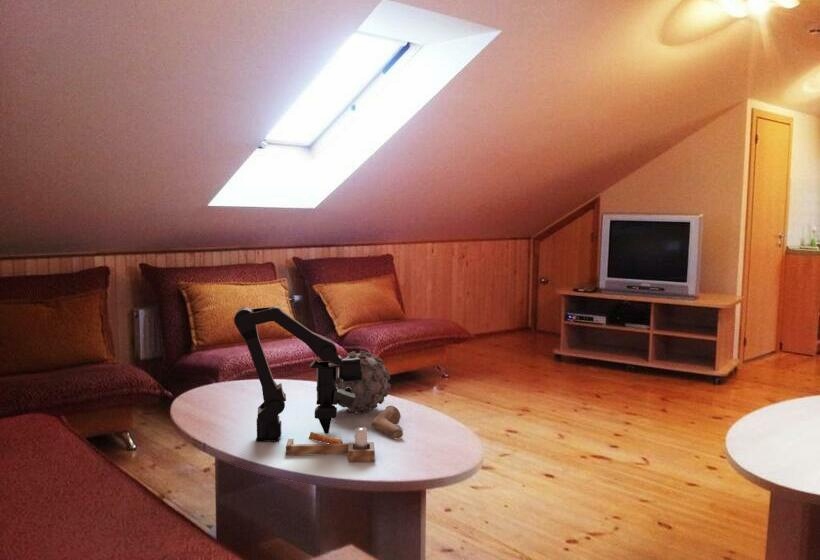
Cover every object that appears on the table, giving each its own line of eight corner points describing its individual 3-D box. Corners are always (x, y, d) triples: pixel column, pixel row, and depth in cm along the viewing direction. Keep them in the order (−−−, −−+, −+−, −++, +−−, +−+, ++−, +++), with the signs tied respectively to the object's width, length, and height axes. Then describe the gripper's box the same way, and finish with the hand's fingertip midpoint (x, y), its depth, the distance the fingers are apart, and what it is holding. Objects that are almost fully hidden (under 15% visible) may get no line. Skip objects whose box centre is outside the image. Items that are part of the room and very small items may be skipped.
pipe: (391, 425, 206) (419, 415, 211) (362, 411, 220) (390, 402, 225) (394, 446, 207) (422, 435, 213) (365, 431, 221) (392, 421, 226)
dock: (283, 463, 188) (283, 452, 188) (288, 447, 201) (287, 437, 200) (374, 461, 190) (374, 450, 189) (373, 445, 203) (373, 435, 202)
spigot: (355, 459, 191) (355, 430, 190) (355, 455, 194) (355, 427, 194) (367, 459, 191) (367, 430, 191) (366, 455, 195) (366, 426, 194)
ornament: (378, 401, 250) (378, 344, 249) (397, 416, 232) (398, 355, 230) (323, 406, 244) (323, 348, 242) (338, 422, 225) (338, 360, 223)
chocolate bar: (338, 448, 201) (338, 440, 201) (307, 440, 208) (307, 433, 208) (344, 446, 203) (344, 438, 203) (313, 438, 211) (313, 430, 210)
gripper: (354, 389, 202) (354, 443, 203) (353, 374, 220) (353, 423, 222) (314, 390, 201) (314, 444, 202) (317, 375, 219) (317, 424, 221)
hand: (326, 433), depth 212 cm, fingers closed
